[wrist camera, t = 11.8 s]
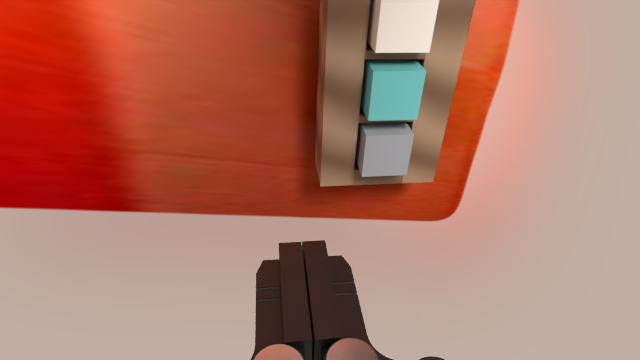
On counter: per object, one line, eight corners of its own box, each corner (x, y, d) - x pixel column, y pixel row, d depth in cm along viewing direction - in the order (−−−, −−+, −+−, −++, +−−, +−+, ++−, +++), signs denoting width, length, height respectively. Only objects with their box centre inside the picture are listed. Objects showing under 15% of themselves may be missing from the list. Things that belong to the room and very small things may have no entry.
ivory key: (370, -18, 33) (382, -9, 30) (423, -17, 34) (440, -8, 30) (365, 38, 36) (375, 52, 33) (414, 38, 36) (429, 52, 33)
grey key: (357, 116, 40) (366, 135, 37) (402, 115, 41) (414, 134, 37) (354, 155, 43) (361, 176, 39) (395, 153, 43) (406, 175, 40)
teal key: (363, 55, 37) (373, 71, 33) (411, 55, 37) (426, 71, 34) (359, 102, 39) (368, 120, 36) (404, 101, 40) (417, 119, 36)
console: (321, -55, 34) (330, -47, 30) (459, -51, 35) (485, -43, 31) (315, 160, 46) (320, 186, 42) (417, 157, 47) (432, 181, 43)
